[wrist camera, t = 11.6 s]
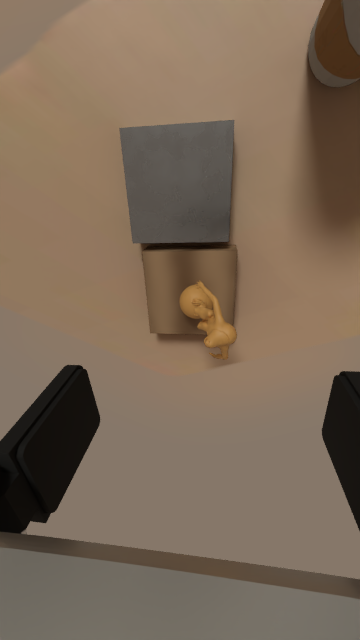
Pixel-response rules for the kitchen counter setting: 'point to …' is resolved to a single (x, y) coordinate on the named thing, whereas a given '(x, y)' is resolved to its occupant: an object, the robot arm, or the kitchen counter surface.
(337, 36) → the coffee cup
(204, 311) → the figurine
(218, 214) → the grey metal stand
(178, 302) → the walnut stand
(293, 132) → the kitchen counter surface
